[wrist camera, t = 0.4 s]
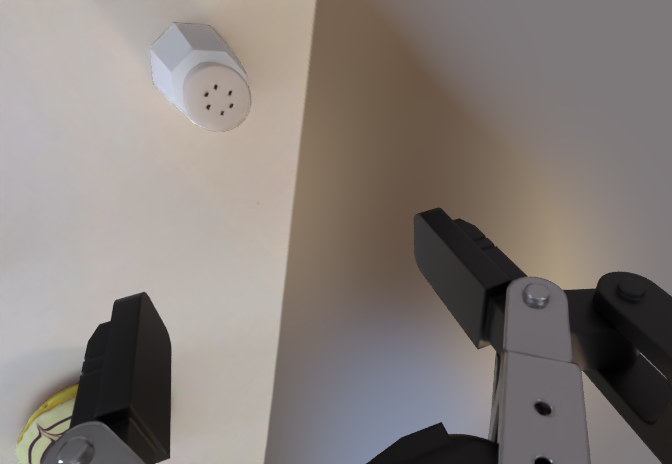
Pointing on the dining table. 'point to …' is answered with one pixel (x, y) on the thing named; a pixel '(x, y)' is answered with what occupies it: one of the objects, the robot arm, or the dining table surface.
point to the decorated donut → (46, 426)
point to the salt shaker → (201, 76)
